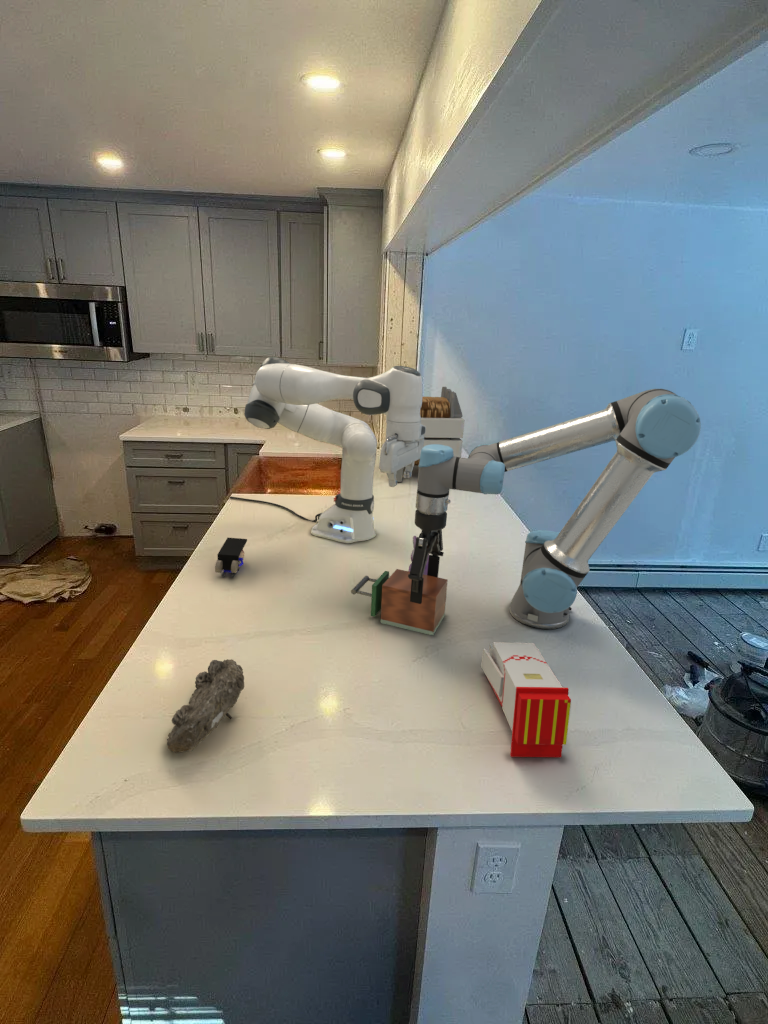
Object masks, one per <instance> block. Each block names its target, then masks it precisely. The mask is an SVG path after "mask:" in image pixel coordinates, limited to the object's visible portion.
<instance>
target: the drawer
mask: <svg viewBox="0 0 768 1024" xmlns="http://www.w3.org/2000/svg"><path fill="white" fill-rule="evenodd" d="M389 577H390V571H389V570H385V571H384V572H382V573H381V574H380V575H379V577H378V578H377V579H375V578H371V577H369V576H368V575H364V576H363V578H361V580H360V581H359V582H358V583H357V584H356V585H355V586H354V587H353V588H352V589H351V590H350V593H351V595H353V596H354V595H356V594H357V595H361V596H366V597H371V600H370V602H371V603H370V617H374V618H376V616H377V615H378V614H379V613H380V612H381V604H382V585H383V584H384V583H385V582H386V581H387V579H388V578H389ZM368 582H372V584H371V593H370V592H367V591H362V590H361V589H362V588H363V587H364V586H365V585H366V584H367V583H368Z"/></svg>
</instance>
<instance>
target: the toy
mask: <svg viewBox="0 0 768 1024" xmlns="http://www.w3.org/2000/svg"><path fill="white" fill-rule="evenodd" d="M480 668H481V669H482V671H483V673H484V674H485V677H486V678H487V681H488V682H489V685H490V687H491V689H492V690H493V692H494V694H495V696H496V698H497V701H498V703H499V704H500V707H502V708H501V709H502V710H503V714H504V715H505V718H506V720H507V723H508V725H509V728H510V730H511V740H510V741H511V742H510V751H509V752H510V754H509V756H510V757H511V758H562V754H563V745H567V741H568V740H567V739H568V731H569V721H570V714H571V713H570V712H571V705H572V704H571V703H572V699H571V697H570V696H569V691H570V688H569V687H563V686H562V684H561V682H560V681H559V680H558V678H557V676H556V675H555V673H554V671H553V670H552V669H551V667H550V666H549V664H548V663H547V661H546V660H545V658H544V657H543V655H542V653H541V651H540V649H539V648H538V647H537V646H536V644H535V643H534V642H506V641H505V642H504V641H503V642H502V641H496V642H495V641H493V642H492V643H489V644H488V649H487V648H482V656H481V663H480Z"/></svg>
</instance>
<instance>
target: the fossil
mask: <svg viewBox="0 0 768 1024" xmlns="http://www.w3.org/2000/svg"><path fill="white" fill-rule="evenodd" d="M243 670H244V669H243V667H242V665H240V664H237V662H236V661H235V660H234V659H232V658H231V659H227V658H226V659H224V660H223V661H222V660H217V659H212V660H211V661H210V663H209V665H208V666H207V671H201V672H199V673H198V674H197V675H196V676H195V680H194V684H195V685H194V687H195V689H194V690H193V693H192V694H191V697H190V698H189V700H188V704H184V705H182V706H181V707H180V709H177V710H176V711H175V713H174V715H173V716H172V718H171V723H172V724H173V727H172V730H171V731H170V732H168V734H167V738H166V741H167V742H166V745H167V749H168V750H169V751H173V752H174V753H176V754H178V753H182V752H188V751H189V752H192V751H193V750H195V748H196V747H197V746H199V744H200V743H201V742H203V741H204V740H205V739H206V738H207V737H208V736H209V735H210V734H211V733H212V732H214V730H215V729H217V727H218V726H219V724H220V722H221V721H222V720H223V719H224V718H225V716H226V717H227V719H229V720H233V717H232V715H230V714H229V710H230V709H231V708H234V706H235V704H236V703H237V702H238V699H239V697H240V695H241V693H242V691H243V690H245V689H244V688H245V675H244V671H243Z"/></svg>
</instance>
